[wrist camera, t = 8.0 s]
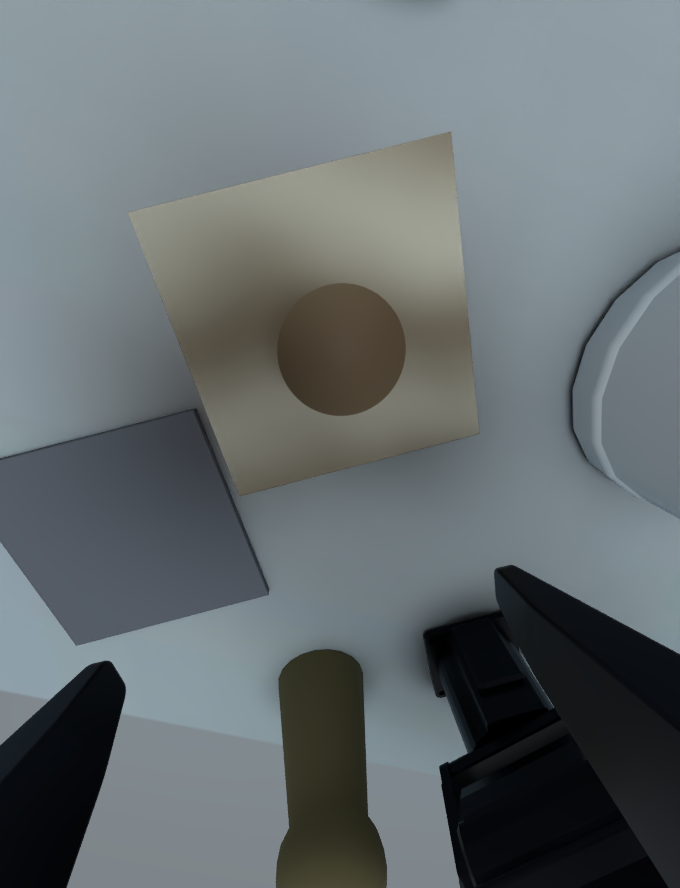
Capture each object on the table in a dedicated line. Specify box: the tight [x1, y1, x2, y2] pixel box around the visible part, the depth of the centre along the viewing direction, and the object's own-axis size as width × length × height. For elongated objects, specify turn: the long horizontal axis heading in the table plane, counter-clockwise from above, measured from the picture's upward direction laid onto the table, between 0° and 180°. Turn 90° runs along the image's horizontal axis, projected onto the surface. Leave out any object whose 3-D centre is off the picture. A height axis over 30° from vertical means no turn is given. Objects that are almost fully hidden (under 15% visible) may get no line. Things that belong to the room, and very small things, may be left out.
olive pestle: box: [276, 650, 387, 888], centre depth 20 cm, size 6×6×11 cm
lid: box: [128, 132, 479, 496], centre depth 11 cm, size 10×10×5 cm
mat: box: [0, 409, 269, 646], centre depth 20 cm, size 12×12×1 cm
